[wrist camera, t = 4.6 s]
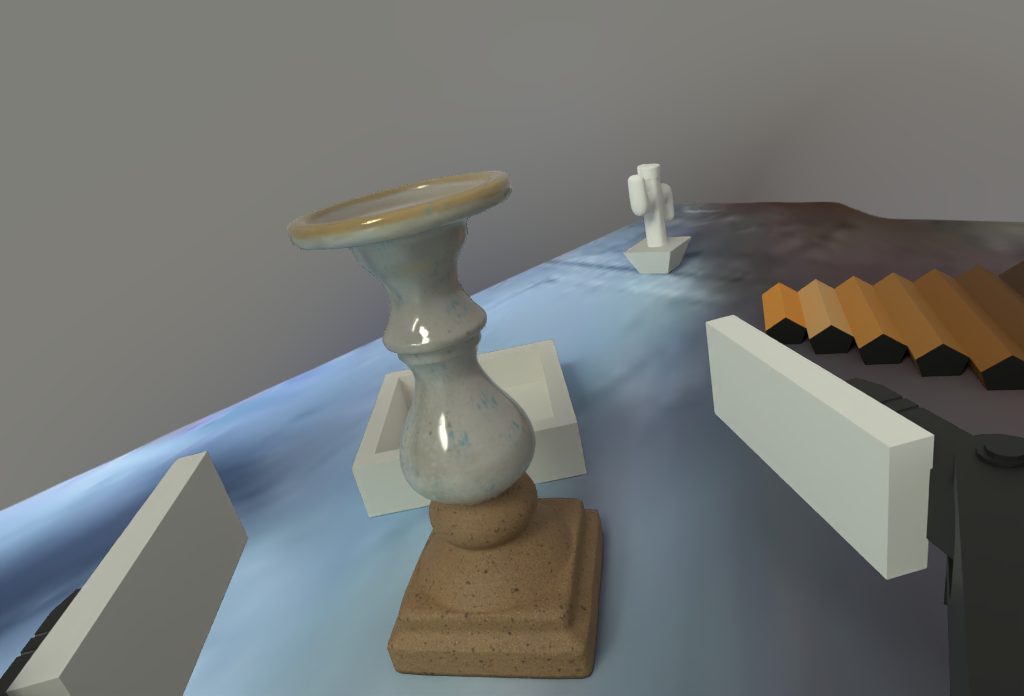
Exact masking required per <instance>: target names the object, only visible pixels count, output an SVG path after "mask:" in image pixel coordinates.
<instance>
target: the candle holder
mask: <svg viewBox="0 0 1024 696" xmlns="http://www.w3.org/2000/svg"><path fill="white" fill-rule="evenodd" d="M511 192H512V184H511V180H510V177H509V175H508V174H507V173H505V172H503V171H484V172H475V173H466V174H460V175H453V176H447V177H442V178H436V179H431V180H426V181H421V182H416V183H412V184H407V185H403V186H399V187H395V188H390V189H386V190H382V191H378V192H375V193H371V194H367V195H363V196H360V197H357V198H353V199H349V200H346V201H343V202H340V203H337V204H333V205H330V206H327V207H325V208H322V209H319V210H316V211H314V212H311V213H308V214H306V215H303V216H301V217H299V218H297V219H295V220H293V221H292V222H291V223H290V224H289V225H288V227H287V232H288V236H289V239H290V241H291V242H292V244H293V245H295V246H296V247H298V248H300V249H303V250H332V249H342V248H349V249H350V250H351V251H352V252H353V254H354V256H355V258H356V260H357V262H358V263H359V264H360V265H361V266H362V267H363V268H364V269H366V270H367V271H369V272H370V273H371V274H373V275H374V276H376V278H378V279H379V281H380V282H381V283H382V285H383V287H384V288H385V290H386V292H387V295H388V297H389V301H390V314H389V320H388V324H387V327H386V329H385V332H384V334H383V343H384V346H385V347H386V348H387V349H388V350H389V351H391V352H394V353H397V355H398V358H399V359H400V360H401V361H402V362H404V363H405V364H406V365H407V366H408V367H409V368H410V370H411V371H412V373H413V375H414V378H415V388H414V396H413V401H412V405H411V408H410V411H409V414H408V417H407V420H406V422H405V426H404V429H403V433H402V437H401V441H400V450H399V458H400V466H401V469H402V472H403V475H404V477H405V480H406V481H407V482H408V484H409V485H410V486H411V487H412V489H413V490H414V491H416V492H417V493H418V494H420V495H421V496H423V497H425V498H427V499H429V500H431V502H430V507H429V517H430V522H431V525H432V527H433V530H432V532H431V535H430V537H429V539H428V541H427V543H426V545H425V547H424V549H423V551H422V554H421V556H420V558H419V560H418V563H417V565H416V567H415V570H414V572H413V575H412V577H411V579H410V582H409V584H408V586H407V589H406V591H405V594H404V597H403V601H402V604H401V607H400V611H399V615H398V618H397V620H396V622H395V625H394V628H393V631H392V633H391V636H390V639H389V642H388V647H387V648H388V651H389V654H390V656H391V659H392V662H393V665H394V667H395V670H396V671H397V672H400V673H404V674H416V675H433V676H467V677H501V678H535V679H580V678H585V677H588V676H590V675H591V673H592V671H593V665H594V658H595V650H596V640H597V626H598V613H599V599H600V586H601V572H602V559H603V531H602V526H601V521H600V517H599V514H598V511H597V510H592V509H584V507H583V503H582V501H580V500H578V499H574V498H541V499H538V496H537V490H536V487H535V484H534V482H533V480H532V479H531V478H530V476H529V475H528V474H527V473H526V470H527V469H528V467H529V465H530V463H531V461H532V459H533V456H534V452H535V445H536V440H535V433H534V428H533V426H532V423H531V421H530V419H529V417H528V415H527V414H526V412H525V411H524V409H523V408H522V407H521V406H520V405H519V404H518V403H517V402H516V401H515V400H514V399H513V398H512V397H511V396H510V395H509V394H508V393H507V392H505V391H504V390H503V389H502V388H501V387H500V386H498V385H497V384H496V383H495V382H494V381H493V380H492V379H491V378H490V377H489V376H488V375H487V373H486V372H485V371H484V370H483V368H482V367H481V365H480V364H479V362H478V358H477V350H478V344H479V342H480V340H481V332H480V331H481V330H482V329H483V328H484V326H485V325H486V322H487V315H486V312H485V310H484V309H483V308H482V307H480V306H479V305H477V304H476V303H475V302H474V301H473V300H472V299H471V298H470V297H469V296H468V294H467V293H466V292H465V291H464V289H463V287H462V285H461V283H460V280H459V273H458V261H459V257H460V254H461V251H462V249H463V247H464V245H465V243H466V239H467V235H468V228H467V220H468V218H470V217H472V216H475V215H478V214H480V213H482V212H485V211H487V210H489V209H491V208H493V207H495V206H497V205H499V204H501V203H502V202H504V201H505V200H507V199H508V197H509V196H510V194H511Z"/></svg>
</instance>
